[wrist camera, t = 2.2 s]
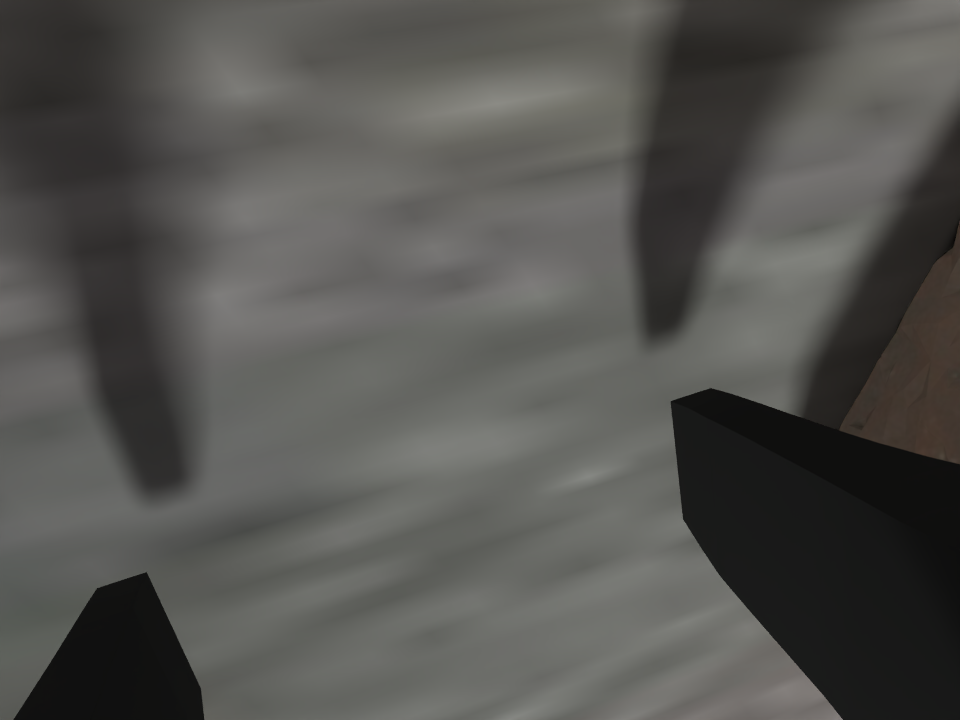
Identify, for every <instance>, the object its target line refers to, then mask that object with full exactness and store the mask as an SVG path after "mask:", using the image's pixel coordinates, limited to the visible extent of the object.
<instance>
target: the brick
mask: <svg viewBox="0 0 960 720" xmlns="http://www.w3.org/2000/svg"><path fill="white" fill-rule="evenodd" d="M839 431H842V432H845V433H848V434H852V435H855V436H858V437H861V438H865V439H868V440H871V441H874V442H878V443H881V444H885V445H888V446H892V447H895V448H899V449H903V450H906V451H910V452H914V453H917V454H921V455H924V456H928V457H932V458H936V459H940V460H944V461H949V462H953V463H957V464H960V222H959V226H958V230H957V235H956V239H955V243H954V247H953V248H952V249H950V250H949V251H948V252H947V253H945V254H944V255H943V256H941V257H940V258H939V259H938V260H936V262H935V263H934V264H933V266H932V268H931V270H930V271H929V273H928V275H927V276H926V278H925V280H924V282H923V283H922V285H921V287H920V288H919V290H918V292H917V293H916V295H915V297H914V299H913V300H912V302H911V304H910V306H909V307H908V309H907V311H906V313H905V315H904V317H903V319H902V321H901V323H900V325H899V327H898V329H897V331H896V333H895V335H894V336H893V338H892V339H891V341H890V342H889V344H888V345H887V347H886V349H885V350H884V352H883V353H882V355H881V357H880V358H879V359H878V361H877V363H876V365H875V367H874V369H873V371H872V373H871V375H870V377H869V378H868V380H867V382H866V384H865V385H864V387H863V389H862V390H861V392H860V394H859V395H858V397H857V399H856V400H855V402H854V404H853V405H852V407H851V409H850V410H849V412H848V414H847V415H846V417H845V419H844V420H843V422H842V424H841V426H840V428H839Z"/></svg>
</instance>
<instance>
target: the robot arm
mask: <svg viewBox="0 0 960 720" xmlns="http://www.w3.org/2000/svg"><path fill="white" fill-rule="evenodd" d="M671 409H672V419H673V428H674V438H675V447H676V456H677V466H678V475H679V485H680V494H681V504H682V513H683V520H684V521H685V523H686V524H687V526H688V528H689V529H690V531H691V532H692V534H693V536H694V537H695V539H696V540H697V542H698V543H699V545H700V547H701V548H702V550H703V551H704V553H705V554H706V556H707V557H708V559H709V560H710V562H711V563H712V565H713V566H714V568H715V569H716V571H717V572H718V574H719V575H720V576H721V578H722V579H723V580H724V581H725V582H726V584H727V585H728V586H729V587H730V588H731V589H732V591H733V592H734V593H735V594H736V595H737V596H738V598H739V599H740V600H741V601H742V602H743V603H744V605H745V606H746V607H747V608H748V609H749V610H750V612H751V613H752V614H753V615H754V616H755V617H756V619H757V620H758V621H759V622H760V623H761V624H762V625H763V627H764V628H765V629H766V630H767V631H768V632H769V633H770V635H771V636H772V637H773V638H774V639H775V640H776V641H777V643H778V644H779V645H780V646H781V647H782V648H783V649H784V651H785V652H786V653H787V654H788V655H789V656H790V657H791V659H792V660H793V661H794V662H795V663H796V664H797V665H798V667H799V668H800V669H801V670H802V671H803V672H804V673H805V675H806V676H807V677H808V678H809V679H810V680H811V681H812V683H813V684H814V685H815V686H816V687H817V688H818V690H819V691H820V692H821V693H822V694H823V695H824V696H825V698H826V699H827V700H828V701H829V703H830V704H831V705H832V706H833V708H834V709H835V710H836V711H837V713H838V714H839V715H840V716H841V718H842V719H843V720H960V464H957V463H953V462H949V461H944V460H940V459H936V458H932V457H928V456H924V455H921V454H917V453H914V452H910V451H906V450H903V449H899V448H895V447H892V446H888V445H885V444H881V443H878V442H874V441H871V440H868V439H865V438H861V437H858V436H855V435H852V434H848V433H845V432H842V431H839V430H836V429H833V428H830V427H827V426H824V425H821V424H818V423H815V422H812V421H809V420H806V419H803V418H800V417H797V416H795V415H792V414H789V413H786V412H783V411H780V410H777V409H774V408H772V407H769V406H766V405H763V404H760V403H757V402H754V401H751V400H748V399H745V398H742V397H739V396H736V395H733V394H730V393H726V392H723V391H719V390H715V389H712V388H710V389H707V390H704V391H701V392H697V393H694V394H691V395H688V396H685V397H682V398H679V399H676V400H673V401H671ZM14 720H204V713H203V704H202V695H201V688H200V686H199V684H198V682H197V679H196V677H195V675H194V673H193V671H192V669H191V666H190V664H189V662H188V660H187V658H186V656H185V654H184V651H183V649H182V647H181V645H180V643H179V641H178V639H177V636H176V634H175V632H174V630H173V628H172V626H171V624H170V621H169V619H168V617H167V615H166V613H165V611H164V608H163V606H162V604H161V602H160V600H159V598H158V596H157V593H156V591H155V589H154V587H153V585H152V583H151V581H150V578H149V576H148V574H147V572H146V573H143V574H140V575H137V576H133V577H130V578H127V579H124V580H121V581H118V582H115V583H112V584H109V585H106V586H103V587H100V588H97V590H96V591H95V593H94V594H93V595H92V597H91V598H90V600H89V602H88V603H87V605H86V606H85V608H84V609H83V611H82V613H81V614H80V616H79V617H78V619H77V621H76V622H75V624H74V626H73V627H72V629H71V630H70V632H69V634H68V635H67V637H66V638H65V640H64V642H63V643H62V645H61V647H60V648H59V650H58V651H57V653H56V655H55V656H54V658H53V659H52V661H51V663H50V664H49V666H48V667H47V669H46V670H45V672H44V673H43V675H42V677H41V678H40V680H39V681H38V683H37V684H36V686H35V687H34V689H33V690H32V692H31V694H30V695H29V697H28V698H27V700H26V701H25V703H24V704H23V706H22V707H21V709H20V711H19V712H18V714H17V715H16V717H15V718H14Z"/></svg>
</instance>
